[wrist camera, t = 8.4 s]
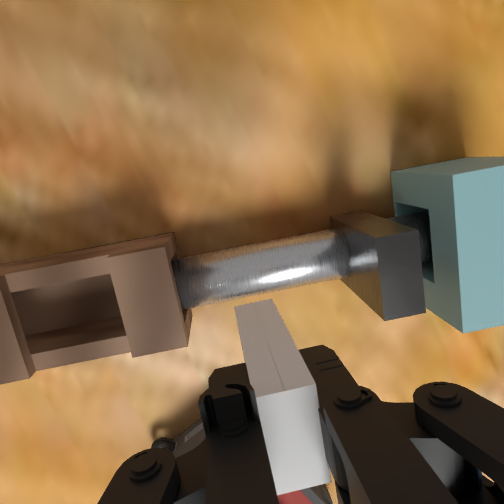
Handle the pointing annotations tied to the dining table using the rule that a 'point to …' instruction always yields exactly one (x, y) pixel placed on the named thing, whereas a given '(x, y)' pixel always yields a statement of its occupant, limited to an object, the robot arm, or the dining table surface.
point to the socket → (460, 237)
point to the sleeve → (90, 306)
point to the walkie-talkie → (305, 500)
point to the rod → (321, 264)
